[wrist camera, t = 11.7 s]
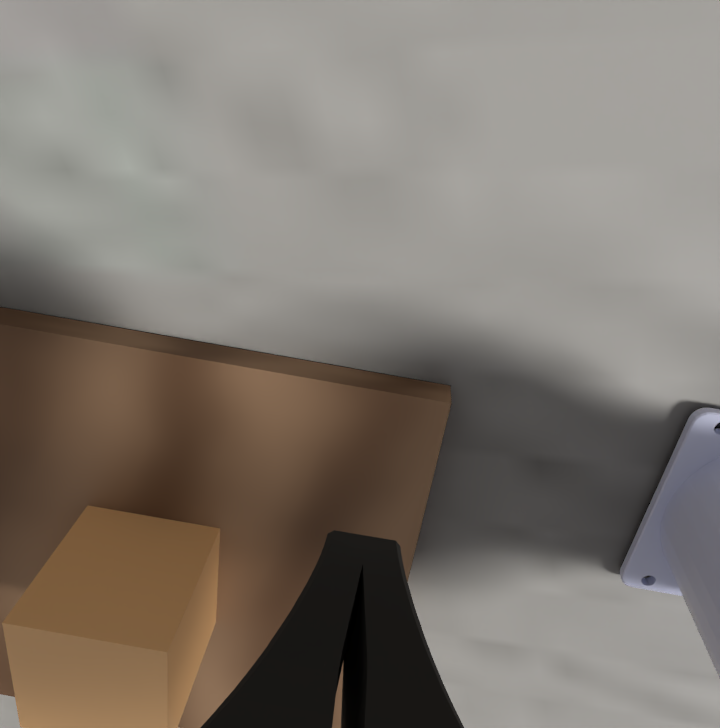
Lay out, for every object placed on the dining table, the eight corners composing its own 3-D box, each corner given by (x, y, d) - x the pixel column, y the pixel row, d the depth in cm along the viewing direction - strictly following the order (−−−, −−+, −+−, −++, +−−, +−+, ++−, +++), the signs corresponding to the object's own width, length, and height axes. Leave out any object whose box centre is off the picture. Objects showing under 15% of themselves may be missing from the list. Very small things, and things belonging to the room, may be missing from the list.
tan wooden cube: (220, 528, 25) (167, 652, 20) (215, 622, 27) (167, 753, 22) (87, 505, 25) (1, 622, 20) (95, 600, 27) (20, 726, 22)
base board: (450, 385, 22) (451, 403, 21) (365, 737, 32) (362, 762, 31) (-111, 287, 23) (-138, 299, 22) (-33, 663, 32) (-49, 684, 31)
